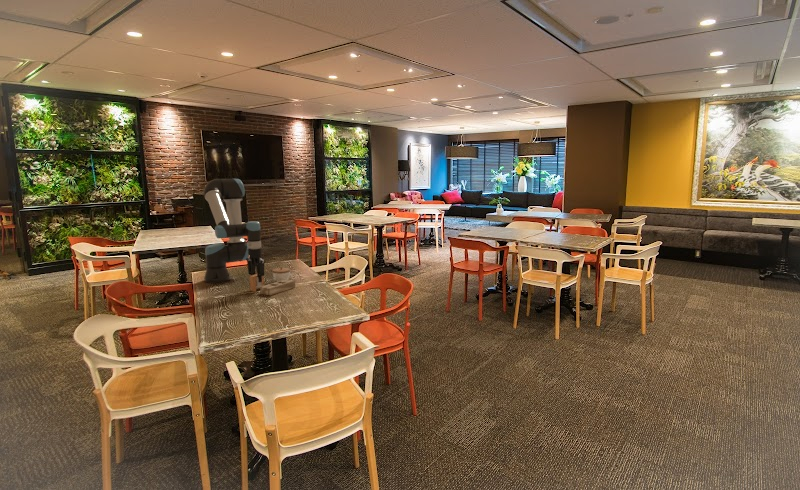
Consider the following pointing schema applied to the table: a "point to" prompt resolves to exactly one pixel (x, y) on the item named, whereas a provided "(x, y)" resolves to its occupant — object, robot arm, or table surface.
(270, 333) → the table surface
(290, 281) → the brown wooden block
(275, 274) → the lidded jar
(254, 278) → the wooden arch block
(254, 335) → the table surface
